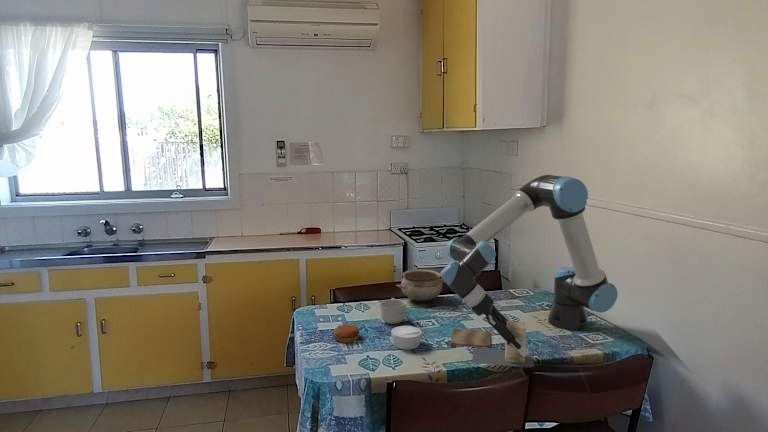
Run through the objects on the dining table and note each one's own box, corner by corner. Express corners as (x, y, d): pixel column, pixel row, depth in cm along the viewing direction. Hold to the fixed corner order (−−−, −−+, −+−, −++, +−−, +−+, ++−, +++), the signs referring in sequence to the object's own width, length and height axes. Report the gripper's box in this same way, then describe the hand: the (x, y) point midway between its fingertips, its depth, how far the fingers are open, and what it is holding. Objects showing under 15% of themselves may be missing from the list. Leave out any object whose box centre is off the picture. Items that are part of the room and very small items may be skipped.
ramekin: (412, 353, 182) (412, 339, 181) (385, 346, 188) (385, 333, 187) (427, 343, 191) (427, 329, 191) (400, 336, 197) (400, 323, 196)
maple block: (523, 355, 178) (524, 322, 176) (524, 363, 172) (525, 328, 170) (505, 354, 179) (506, 320, 177) (505, 361, 173) (507, 327, 171)
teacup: (403, 327, 207) (403, 307, 206) (377, 325, 209) (377, 306, 208) (409, 315, 220) (409, 297, 219) (384, 313, 222) (384, 295, 221)
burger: (349, 345, 189) (349, 333, 189) (329, 340, 194) (329, 328, 193) (364, 336, 197) (364, 325, 197) (345, 331, 202) (344, 320, 202)
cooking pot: (405, 310, 227) (405, 283, 225) (388, 297, 244) (388, 272, 242) (455, 302, 236) (455, 276, 235) (435, 291, 254) (435, 267, 252)
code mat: (531, 355, 180) (531, 353, 180) (534, 370, 169) (534, 367, 169) (472, 351, 184) (473, 348, 184) (472, 365, 173) (472, 362, 173)
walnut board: (490, 335, 198) (490, 331, 198) (490, 350, 185) (490, 346, 185) (453, 332, 201) (453, 328, 201) (450, 346, 188) (450, 342, 187)
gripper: (470, 298, 185) (516, 345, 185) (468, 317, 166) (519, 369, 166) (486, 284, 183) (532, 332, 183) (486, 302, 164) (537, 355, 164)
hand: (525, 349), depth 174 cm, fingers open, 6 cm apart
